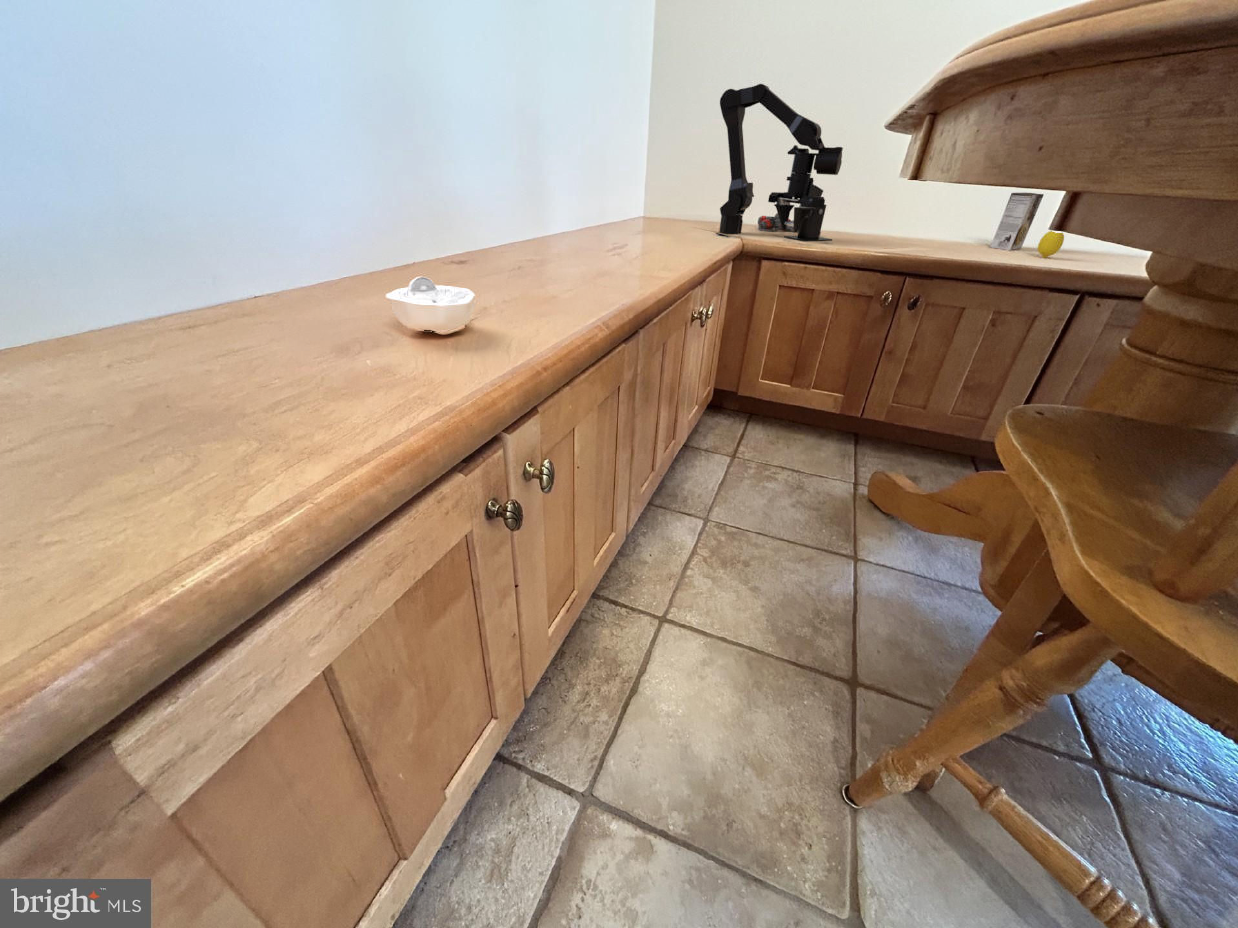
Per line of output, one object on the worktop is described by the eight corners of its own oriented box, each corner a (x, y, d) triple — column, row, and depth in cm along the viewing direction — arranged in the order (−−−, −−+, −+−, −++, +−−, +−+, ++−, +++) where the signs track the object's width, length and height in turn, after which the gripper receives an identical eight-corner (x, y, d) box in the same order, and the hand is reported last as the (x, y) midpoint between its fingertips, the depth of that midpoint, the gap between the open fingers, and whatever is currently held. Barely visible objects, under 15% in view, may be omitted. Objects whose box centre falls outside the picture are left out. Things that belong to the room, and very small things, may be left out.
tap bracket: (802, 244, 154) (810, 205, 149) (783, 240, 161) (790, 202, 155) (831, 243, 159) (840, 205, 153) (811, 239, 166) (819, 202, 160)
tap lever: (795, 230, 153) (794, 222, 151) (784, 227, 157) (783, 220, 155) (823, 213, 154) (823, 205, 153) (812, 211, 158) (811, 203, 156)
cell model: (428, 351, 60) (419, 293, 57) (379, 329, 67) (368, 276, 63) (496, 334, 67) (491, 281, 63) (446, 315, 74) (439, 267, 70)
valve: (739, 235, 182) (767, 227, 188) (798, 249, 165) (826, 240, 171) (741, 216, 178) (769, 208, 184) (801, 228, 161) (830, 219, 167)
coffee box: (1000, 246, 170) (1022, 192, 162) (1021, 248, 166) (1045, 193, 157) (988, 247, 165) (1010, 192, 157) (1010, 250, 161) (1034, 193, 152)
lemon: (1037, 258, 147) (1050, 229, 143) (1029, 255, 152) (1042, 227, 148) (1058, 260, 146) (1073, 230, 142) (1050, 257, 151) (1063, 228, 147)
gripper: (845, 175, 143) (830, 235, 151) (800, 172, 157) (789, 227, 165) (815, 174, 139) (802, 235, 147) (772, 171, 153) (762, 227, 161)
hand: (789, 231), depth 155 cm, fingers open, 5 cm apart
